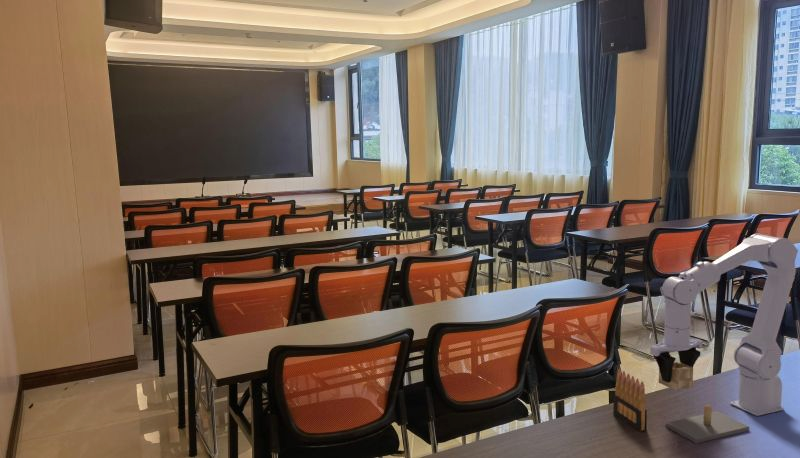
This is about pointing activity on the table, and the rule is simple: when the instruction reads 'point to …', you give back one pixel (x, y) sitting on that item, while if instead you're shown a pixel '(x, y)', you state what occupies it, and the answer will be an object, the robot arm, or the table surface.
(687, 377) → the bead
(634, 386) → the ammunition clip
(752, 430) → the table surface
